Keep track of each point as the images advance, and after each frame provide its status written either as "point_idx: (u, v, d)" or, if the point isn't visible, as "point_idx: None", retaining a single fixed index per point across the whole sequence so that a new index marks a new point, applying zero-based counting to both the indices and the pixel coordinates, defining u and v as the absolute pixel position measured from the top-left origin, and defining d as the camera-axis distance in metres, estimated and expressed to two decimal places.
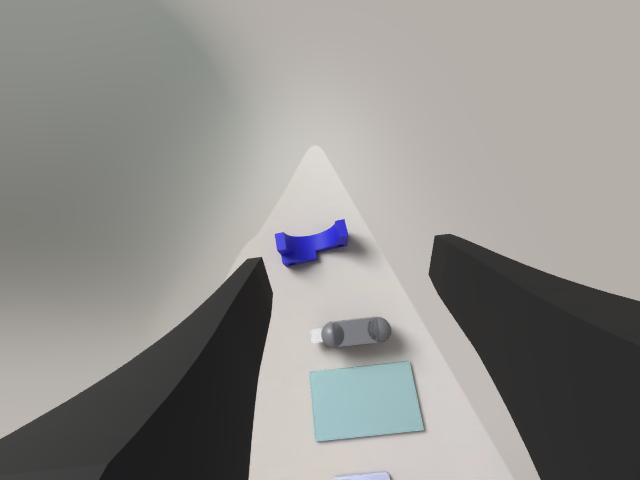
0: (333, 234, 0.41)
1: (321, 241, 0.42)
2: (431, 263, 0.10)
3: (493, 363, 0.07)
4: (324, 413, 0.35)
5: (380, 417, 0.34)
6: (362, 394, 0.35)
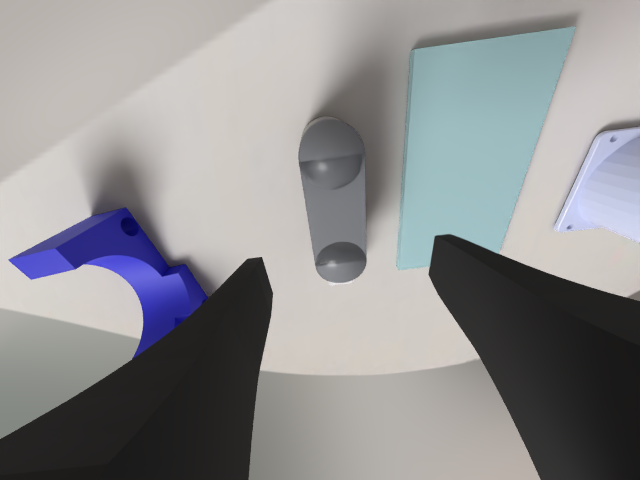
0: (91, 260, 0.16)
1: (134, 268, 0.19)
2: (431, 263, 0.10)
3: (493, 363, 0.07)
4: None
5: (506, 144, 0.16)
6: (454, 182, 0.17)
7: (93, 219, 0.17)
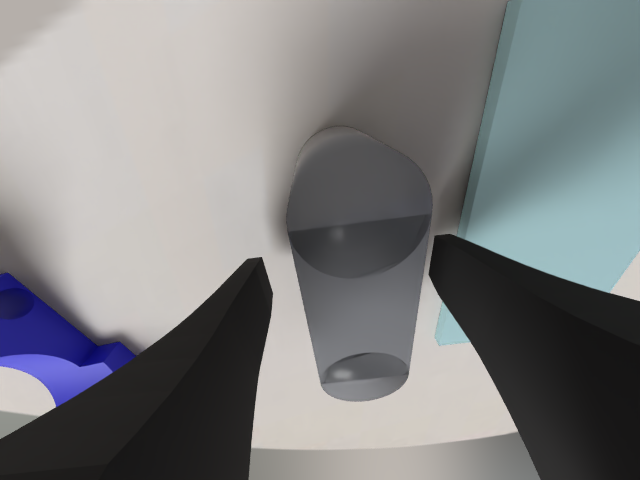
0: None
1: (31, 361, 0.12)
2: (431, 263, 0.10)
3: (493, 363, 0.07)
4: None
5: None
6: (544, 231, 0.11)
7: None
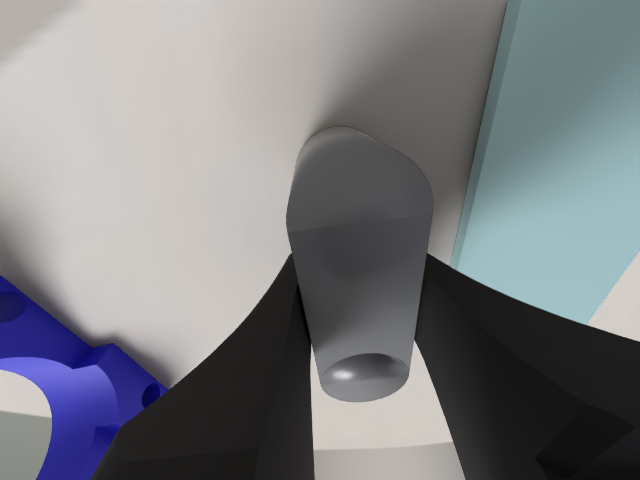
0: None
1: (24, 363, 0.12)
2: None
3: (433, 370, 0.07)
4: None
5: None
6: (544, 231, 0.11)
7: None
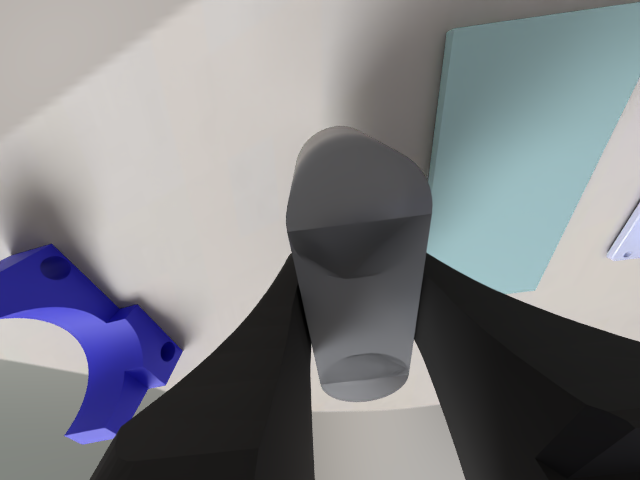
0: None
1: (69, 316, 0.15)
2: None
3: (433, 370, 0.07)
4: (497, 277, 0.17)
5: (563, 156, 0.12)
6: (491, 203, 0.14)
7: (5, 262, 0.13)
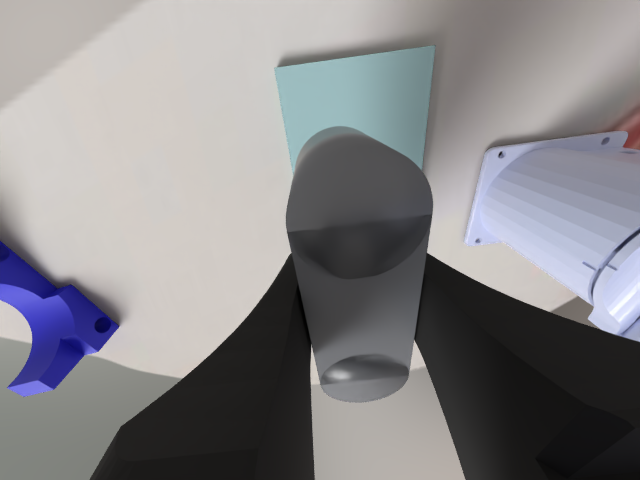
0: None
1: (10, 293, 0.19)
2: None
3: (433, 370, 0.07)
4: None
5: None
6: None
7: None
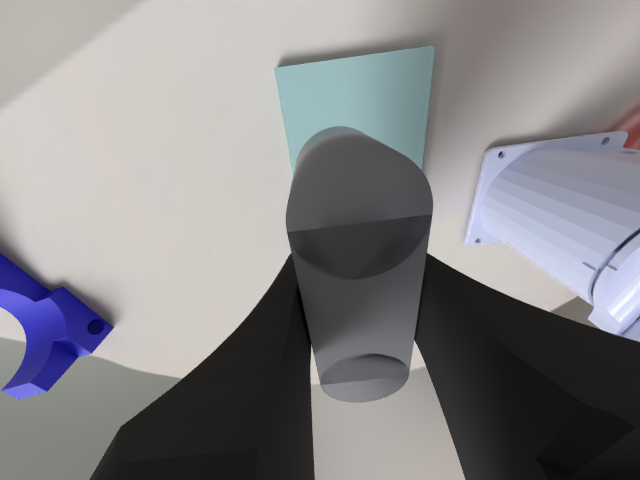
0: None
1: (2, 296, 0.19)
2: None
3: (433, 370, 0.07)
4: None
5: None
6: None
7: None
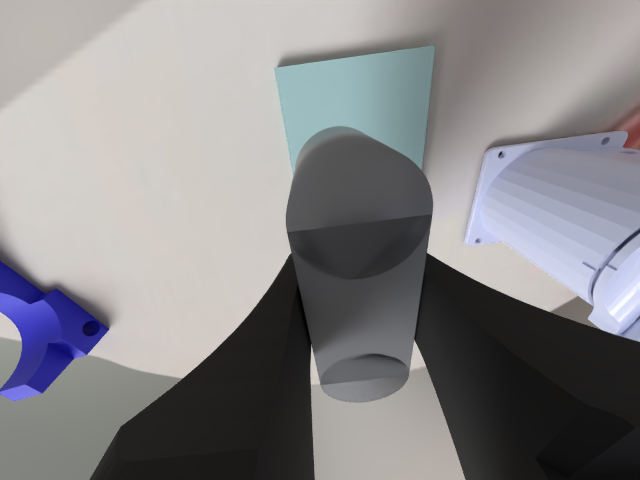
0: None
1: None
2: None
3: (433, 370, 0.07)
4: None
5: None
6: None
7: None
